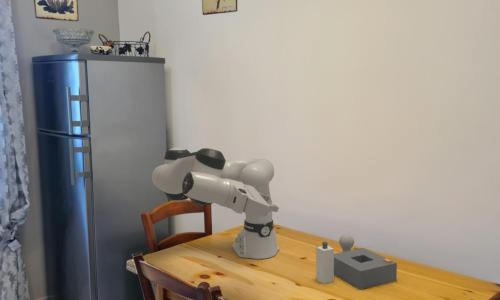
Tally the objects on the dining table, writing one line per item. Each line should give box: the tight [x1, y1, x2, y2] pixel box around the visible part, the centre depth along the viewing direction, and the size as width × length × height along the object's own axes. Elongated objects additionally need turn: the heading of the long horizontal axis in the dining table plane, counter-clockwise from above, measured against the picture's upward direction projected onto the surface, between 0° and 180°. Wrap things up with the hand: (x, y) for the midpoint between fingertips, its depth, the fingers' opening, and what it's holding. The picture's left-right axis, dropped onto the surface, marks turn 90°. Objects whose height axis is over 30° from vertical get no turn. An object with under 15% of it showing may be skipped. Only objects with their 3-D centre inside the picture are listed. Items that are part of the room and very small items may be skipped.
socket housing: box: [334, 247, 398, 290], centre depth 168 cm, size 18×16×7 cm
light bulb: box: [338, 233, 355, 252], centre depth 186 cm, size 6×6×10 cm
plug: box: [315, 241, 335, 285], centre depth 165 cm, size 4×4×14 cm
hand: (273, 203), depth 152 cm, fingers open, 8 cm apart
